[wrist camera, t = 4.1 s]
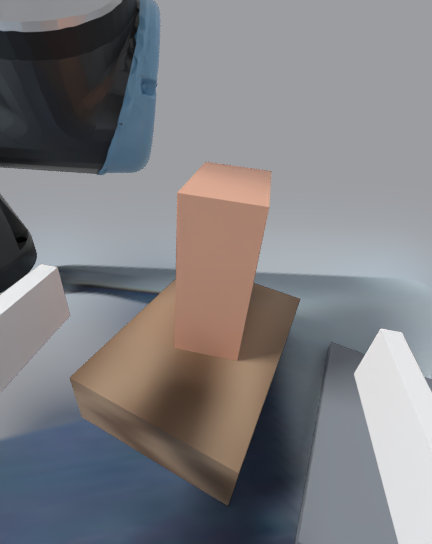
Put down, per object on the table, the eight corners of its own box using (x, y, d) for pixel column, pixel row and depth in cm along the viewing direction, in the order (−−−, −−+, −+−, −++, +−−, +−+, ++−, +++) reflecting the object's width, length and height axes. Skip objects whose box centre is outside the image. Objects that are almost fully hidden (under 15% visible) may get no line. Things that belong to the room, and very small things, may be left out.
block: (174, 348, 18) (177, 192, 12) (196, 291, 23) (205, 161, 17) (237, 360, 18) (269, 207, 12) (245, 300, 23) (271, 171, 17)
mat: (294, 546, 14) (298, 541, 13) (328, 348, 25) (331, 342, 24) (555, 705, 11) (572, 706, 10) (463, 400, 22) (470, 394, 21)
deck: (81, 417, 18) (69, 377, 16) (191, 295, 29) (193, 262, 26) (227, 506, 15) (238, 473, 13) (288, 333, 26) (300, 298, 23)
